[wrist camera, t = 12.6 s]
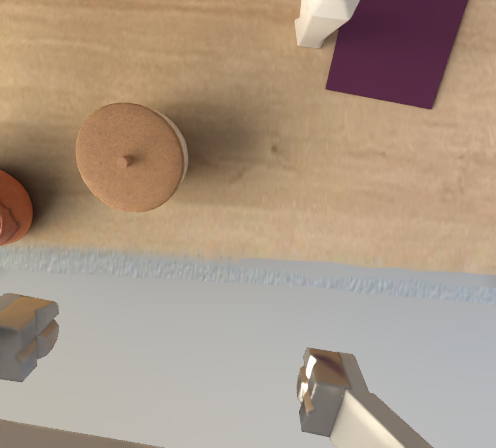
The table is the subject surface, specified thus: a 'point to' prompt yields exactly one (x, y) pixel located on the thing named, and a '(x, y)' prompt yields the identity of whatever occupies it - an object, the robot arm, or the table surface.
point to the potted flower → (13, 210)
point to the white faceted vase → (321, 20)
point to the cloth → (395, 49)
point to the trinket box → (131, 156)
